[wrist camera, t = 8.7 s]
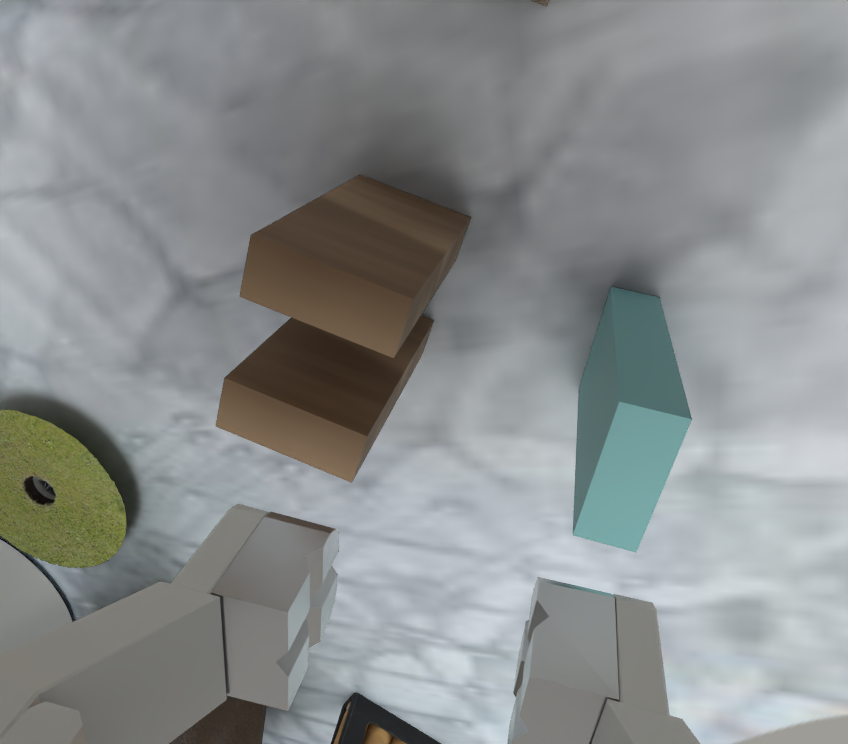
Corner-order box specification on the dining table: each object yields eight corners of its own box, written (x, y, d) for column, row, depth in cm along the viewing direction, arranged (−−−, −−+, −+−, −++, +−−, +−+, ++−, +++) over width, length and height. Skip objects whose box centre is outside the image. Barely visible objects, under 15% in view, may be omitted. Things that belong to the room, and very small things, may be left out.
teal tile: (659, 297, 27) (691, 419, 18) (623, 400, 29) (636, 552, 20) (610, 286, 27) (619, 401, 18) (578, 389, 29) (572, 534, 21)
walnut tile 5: (420, 357, 30) (351, 482, 22) (322, 317, 31) (215, 426, 22) (433, 320, 29) (367, 436, 21) (332, 280, 30) (224, 377, 21)
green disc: (149, 433, 36) (128, 452, 35) (141, 571, 42) (121, 593, 40) (-29, 367, 37) (-58, 382, 36) (-15, 510, 43) (-40, 530, 41)
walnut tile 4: (455, 261, 28) (393, 358, 19) (348, 219, 28) (239, 296, 19) (470, 217, 27) (413, 299, 18) (360, 174, 27) (250, 234, 18)
